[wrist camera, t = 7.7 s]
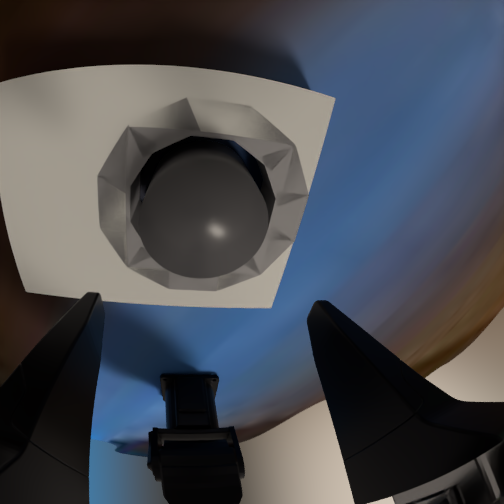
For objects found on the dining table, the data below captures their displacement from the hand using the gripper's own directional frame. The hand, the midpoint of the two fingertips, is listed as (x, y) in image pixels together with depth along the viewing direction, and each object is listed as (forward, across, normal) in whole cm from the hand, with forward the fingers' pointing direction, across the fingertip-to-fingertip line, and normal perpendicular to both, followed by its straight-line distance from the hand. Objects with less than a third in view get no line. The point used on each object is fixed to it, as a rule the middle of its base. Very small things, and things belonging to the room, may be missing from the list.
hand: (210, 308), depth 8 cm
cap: (+10, 0, 0) cm, 10 cm away
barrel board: (+10, +4, 0) cm, 11 cm away
